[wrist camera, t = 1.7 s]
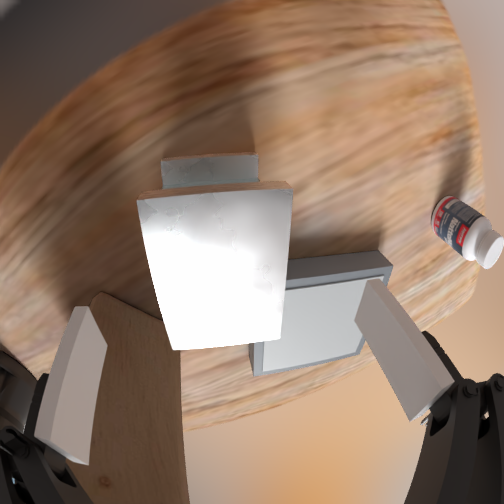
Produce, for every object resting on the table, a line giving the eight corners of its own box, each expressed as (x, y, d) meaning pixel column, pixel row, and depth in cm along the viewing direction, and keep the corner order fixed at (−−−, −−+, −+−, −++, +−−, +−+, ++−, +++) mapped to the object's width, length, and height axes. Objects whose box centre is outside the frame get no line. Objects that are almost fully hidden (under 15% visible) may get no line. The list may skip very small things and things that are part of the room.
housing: (177, 269, 24) (172, 350, 16) (162, 158, 19) (136, 200, 11) (254, 262, 25) (279, 338, 17) (255, 151, 20) (293, 188, 12)
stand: (249, 357, 32) (253, 377, 29) (248, 263, 25) (255, 284, 22) (350, 338, 34) (359, 355, 32) (378, 250, 27) (394, 266, 24)
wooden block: (98, 284, 23) (49, 494, 6) (184, 326, 28) (198, 520, 11) (75, 338, 26) (45, 494, 9) (146, 369, 31) (146, 519, 14)
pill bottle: (430, 202, 25) (486, 241, 18) (457, 189, 25) (510, 223, 17) (429, 240, 28) (476, 282, 20) (455, 225, 28) (501, 262, 20)
